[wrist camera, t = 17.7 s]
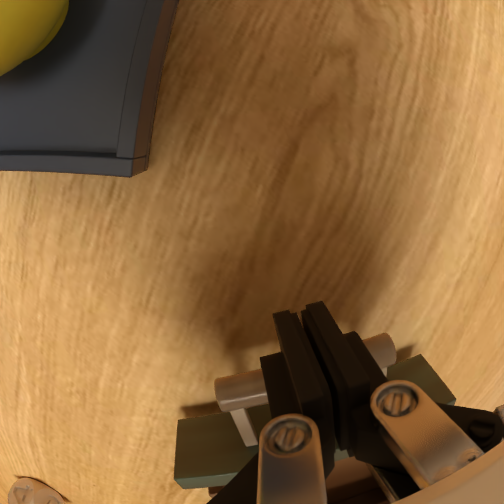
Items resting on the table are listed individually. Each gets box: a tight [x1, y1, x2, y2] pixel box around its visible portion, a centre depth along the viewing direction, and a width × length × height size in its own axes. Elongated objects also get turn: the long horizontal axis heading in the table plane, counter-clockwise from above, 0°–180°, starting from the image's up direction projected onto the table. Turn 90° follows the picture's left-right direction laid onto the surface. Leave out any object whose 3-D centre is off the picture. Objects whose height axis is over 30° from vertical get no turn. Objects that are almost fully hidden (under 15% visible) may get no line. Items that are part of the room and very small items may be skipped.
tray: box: [0, 0, 179, 178], centre depth 7 cm, size 13×13×2 cm
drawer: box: [174, 333, 456, 504], centre depth 15 cm, size 20×14×4 cm
